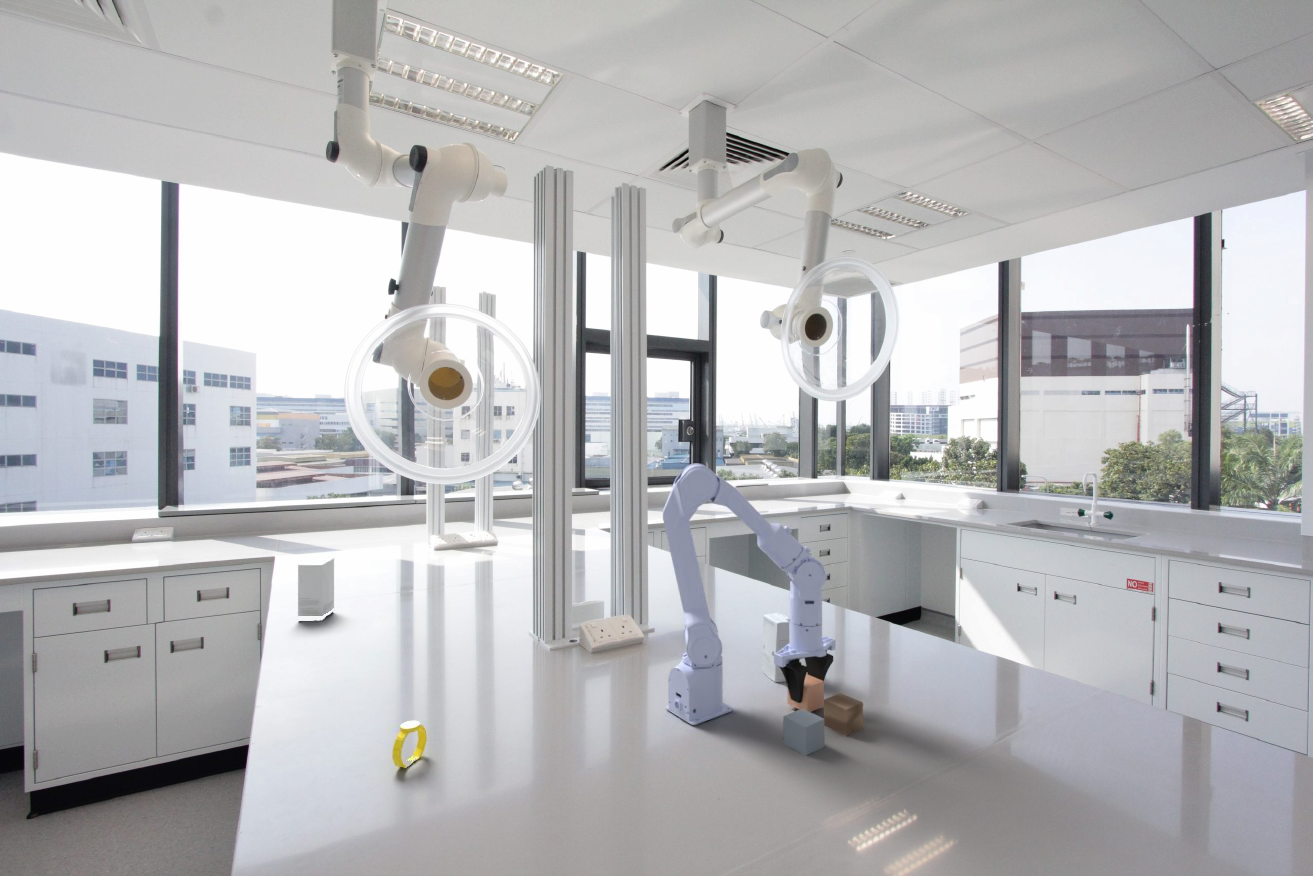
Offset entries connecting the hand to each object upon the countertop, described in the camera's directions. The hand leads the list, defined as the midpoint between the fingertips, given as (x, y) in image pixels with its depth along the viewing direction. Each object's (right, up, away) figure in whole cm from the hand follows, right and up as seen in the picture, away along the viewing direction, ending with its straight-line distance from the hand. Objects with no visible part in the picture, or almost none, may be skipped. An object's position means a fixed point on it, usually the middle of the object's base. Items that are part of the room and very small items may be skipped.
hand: (805, 697), depth 108 cm
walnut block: (+5, -2, -6) cm, 8 cm away
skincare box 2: (-2, -2, +15) cm, 15 cm away
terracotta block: (0, -1, 0) cm, 1 cm away
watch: (-64, -3, -17) cm, 67 cm away
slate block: (-3, -2, -12) cm, 13 cm away
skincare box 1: (-119, -3, +55) cm, 132 cm away
